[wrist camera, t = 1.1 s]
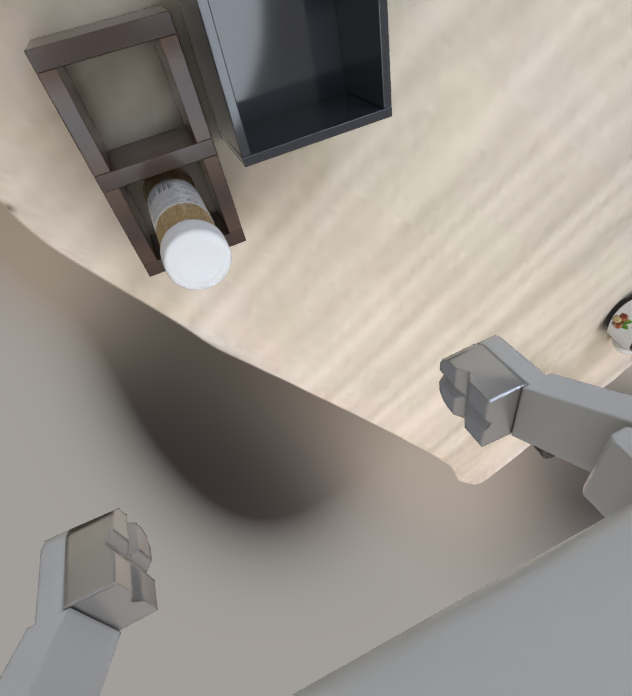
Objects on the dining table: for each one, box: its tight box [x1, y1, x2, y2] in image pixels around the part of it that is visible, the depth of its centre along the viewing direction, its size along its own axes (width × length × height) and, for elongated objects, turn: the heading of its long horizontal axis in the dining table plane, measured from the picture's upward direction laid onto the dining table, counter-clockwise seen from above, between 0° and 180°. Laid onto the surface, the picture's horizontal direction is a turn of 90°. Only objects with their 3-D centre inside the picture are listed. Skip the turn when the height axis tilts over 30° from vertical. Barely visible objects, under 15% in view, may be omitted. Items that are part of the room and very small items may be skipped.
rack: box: [24, 5, 246, 277], centre depth 33 cm, size 17×9×5 cm, turn 10°
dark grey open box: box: [177, 0, 392, 167], centre depth 31 cm, size 12×12×8 cm
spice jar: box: [143, 168, 232, 290], centre depth 33 cm, size 5×5×13 cm
